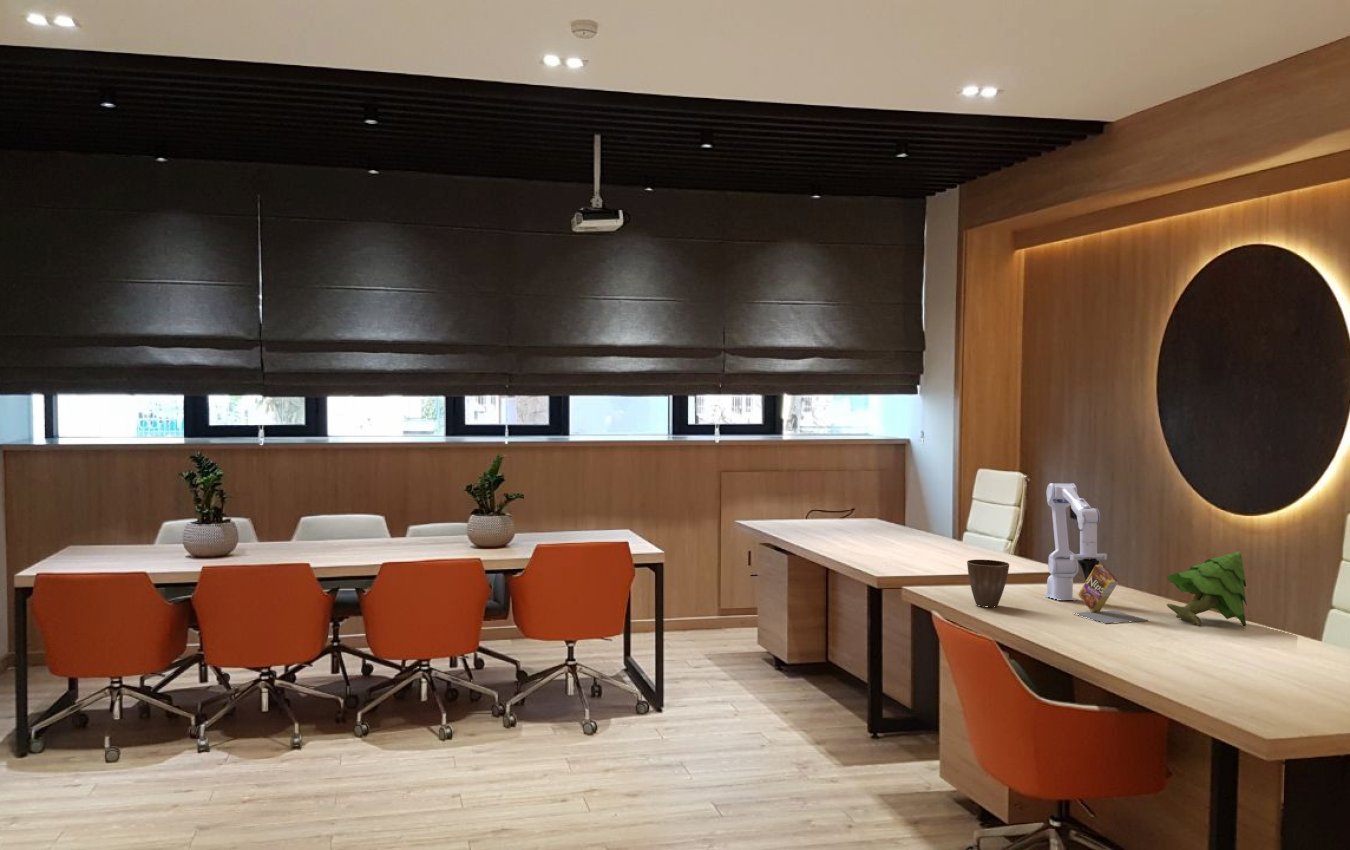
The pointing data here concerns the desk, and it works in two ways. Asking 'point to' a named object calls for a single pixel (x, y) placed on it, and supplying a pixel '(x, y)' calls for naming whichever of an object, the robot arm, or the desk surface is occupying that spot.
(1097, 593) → the candy box
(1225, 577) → the decorative tree
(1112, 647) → the desk surface
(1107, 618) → the rubber mat
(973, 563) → the plant pot
